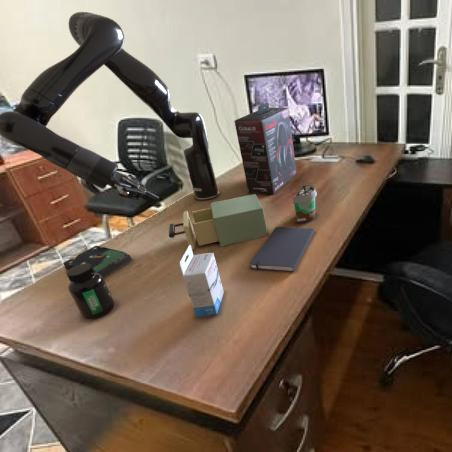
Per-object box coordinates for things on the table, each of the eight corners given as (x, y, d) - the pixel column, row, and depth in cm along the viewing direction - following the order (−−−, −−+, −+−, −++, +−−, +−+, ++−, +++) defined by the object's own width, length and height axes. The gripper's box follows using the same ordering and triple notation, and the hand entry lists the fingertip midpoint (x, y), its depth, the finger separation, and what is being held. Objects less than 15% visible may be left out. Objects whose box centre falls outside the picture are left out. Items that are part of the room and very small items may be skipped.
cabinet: (220, 246, 107) (213, 218, 102) (217, 228, 117) (210, 202, 113) (267, 235, 111) (262, 208, 107) (260, 219, 122) (255, 193, 117)
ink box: (217, 315, 79) (201, 261, 72) (195, 318, 79) (177, 264, 72) (224, 292, 87) (211, 241, 80) (204, 294, 87) (189, 243, 80)
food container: (314, 225, 115) (311, 197, 110) (296, 225, 116) (292, 197, 111) (322, 209, 125) (320, 183, 121) (305, 209, 127) (303, 183, 122)
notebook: (293, 271, 92) (314, 232, 111) (293, 267, 92) (313, 228, 110) (249, 268, 95) (276, 230, 113) (248, 263, 94) (276, 226, 113)
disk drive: (65, 271, 100) (100, 280, 95) (61, 263, 99) (96, 271, 94) (99, 252, 109) (132, 259, 103) (95, 244, 107) (129, 251, 102)
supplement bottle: (107, 318, 81) (86, 276, 75) (76, 322, 81) (53, 280, 75) (120, 299, 87) (102, 259, 81) (92, 302, 87) (72, 262, 81)
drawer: (173, 253, 103) (165, 230, 99) (174, 236, 113) (167, 215, 109) (236, 239, 108) (230, 216, 105) (231, 223, 118) (226, 202, 114)
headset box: (274, 195, 140) (260, 109, 124) (246, 193, 144) (230, 110, 128) (297, 174, 160) (288, 98, 145) (273, 173, 164) (261, 98, 148)
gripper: (94, 163, 85) (163, 198, 95) (104, 150, 96) (165, 183, 106) (78, 187, 86) (148, 220, 96) (90, 171, 97) (151, 202, 107)
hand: (157, 200), depth 101 cm, fingers closed
